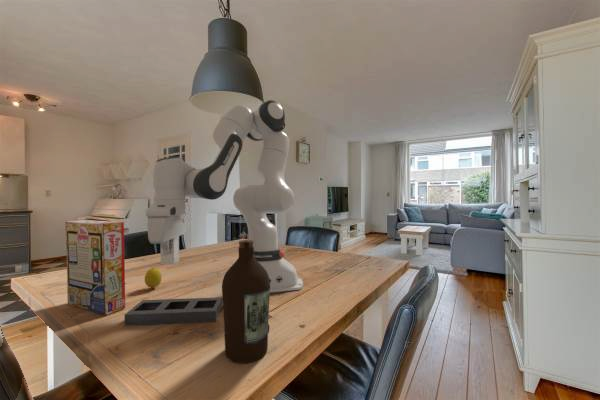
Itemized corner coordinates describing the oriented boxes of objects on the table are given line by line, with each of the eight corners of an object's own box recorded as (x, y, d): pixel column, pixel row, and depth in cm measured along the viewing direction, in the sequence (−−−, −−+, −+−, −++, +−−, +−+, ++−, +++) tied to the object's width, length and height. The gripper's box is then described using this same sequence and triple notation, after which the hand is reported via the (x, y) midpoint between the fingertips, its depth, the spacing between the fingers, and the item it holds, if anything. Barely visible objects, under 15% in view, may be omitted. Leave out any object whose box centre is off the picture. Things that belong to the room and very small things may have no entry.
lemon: (154, 291, 98) (154, 269, 97) (141, 290, 99) (141, 269, 99) (165, 286, 103) (164, 265, 103) (152, 285, 104) (152, 265, 104)
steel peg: (179, 261, 86) (178, 236, 86) (174, 264, 82) (173, 238, 82) (166, 261, 86) (165, 236, 86) (160, 264, 82) (160, 238, 82)
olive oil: (212, 352, 60) (212, 241, 60) (250, 333, 68) (249, 235, 68) (242, 372, 53) (241, 247, 53) (279, 349, 62) (279, 240, 61)
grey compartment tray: (222, 306, 85) (222, 297, 85) (215, 321, 75) (215, 311, 75) (142, 309, 82) (142, 300, 82) (124, 325, 73) (124, 314, 72)
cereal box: (126, 308, 84) (125, 221, 83) (104, 316, 78) (103, 223, 77) (87, 297, 92) (86, 219, 91) (65, 304, 86) (63, 220, 86)
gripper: (172, 207, 94) (173, 246, 94) (142, 211, 74) (143, 261, 74) (191, 207, 94) (191, 246, 95) (166, 210, 74) (167, 260, 74)
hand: (170, 252), depth 84 cm, fingers closed on steel peg, 4 cm apart
